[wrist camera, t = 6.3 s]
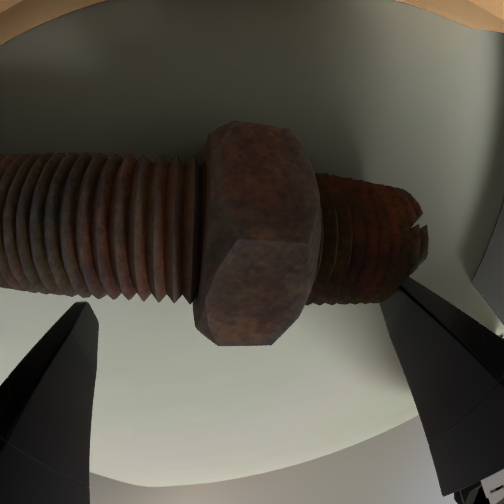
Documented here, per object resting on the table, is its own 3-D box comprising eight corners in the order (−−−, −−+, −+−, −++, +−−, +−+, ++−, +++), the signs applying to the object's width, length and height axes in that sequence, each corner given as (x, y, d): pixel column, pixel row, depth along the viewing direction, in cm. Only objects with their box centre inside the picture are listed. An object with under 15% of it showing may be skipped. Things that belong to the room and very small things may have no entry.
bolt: (339, 204, 11) (-30, 186, 8) (416, 113, 7) (-82, 96, 3) (364, 359, 9) (-67, 330, 5) (491, 323, 5) (-161, 280, 1)
